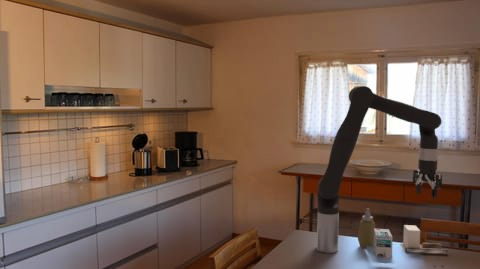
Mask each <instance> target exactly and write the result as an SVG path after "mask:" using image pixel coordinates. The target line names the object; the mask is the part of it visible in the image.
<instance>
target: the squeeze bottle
mask: <svg viewBox="0 0 480 269" xmlns="http://www.w3.org/2000/svg"><path fill="white" fill-rule="evenodd" d="M373 219H374V216H372V215H371V212H370V208H369V207H368V208H367V207H366V209H365V212H364V215H362V216H361V220H360V221H359V226H358V234H357V235H358V236H357V241H358V244H359V247H360V248H361V249H364V250H367V247H368V248H371V247H374V228H375V229H376V223H375V221H374V220H373Z"/></svg>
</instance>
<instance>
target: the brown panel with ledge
mask: <svg viewBox="0 0 480 269" xmlns="http://www.w3.org/2000/svg"><path fill="white" fill-rule="evenodd" d="M399 245H400V247H401V248H402V249H403V251H404V252H405V253H406V254H407V253H408V254H425V255H426V254H429V255H448V249H447V248H443V247H442V246H443V245H442V243H439V242H438V243H433V242H422V243H420V248H411V247H405V246H404V245H403V243H399Z"/></svg>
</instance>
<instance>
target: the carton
mask: <svg viewBox="0 0 480 269" xmlns="http://www.w3.org/2000/svg"><path fill="white" fill-rule="evenodd" d="M402 244H403V245H404V246H405V247H411V248H420V244H421V230H420V228H418V227H417V225H416V224H415V225H410V224H409V225H408V224H404V225H403V243H402Z"/></svg>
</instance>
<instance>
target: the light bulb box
mask: <svg viewBox="0 0 480 269" xmlns="http://www.w3.org/2000/svg"><path fill="white" fill-rule="evenodd" d="M373 252H374V254H375V257H376V258H387V259H391V258H392V259H393V234H392V233H391V231H390V229H387V228H386V229H385V228H376V227H375V228H374V246H373Z"/></svg>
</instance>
